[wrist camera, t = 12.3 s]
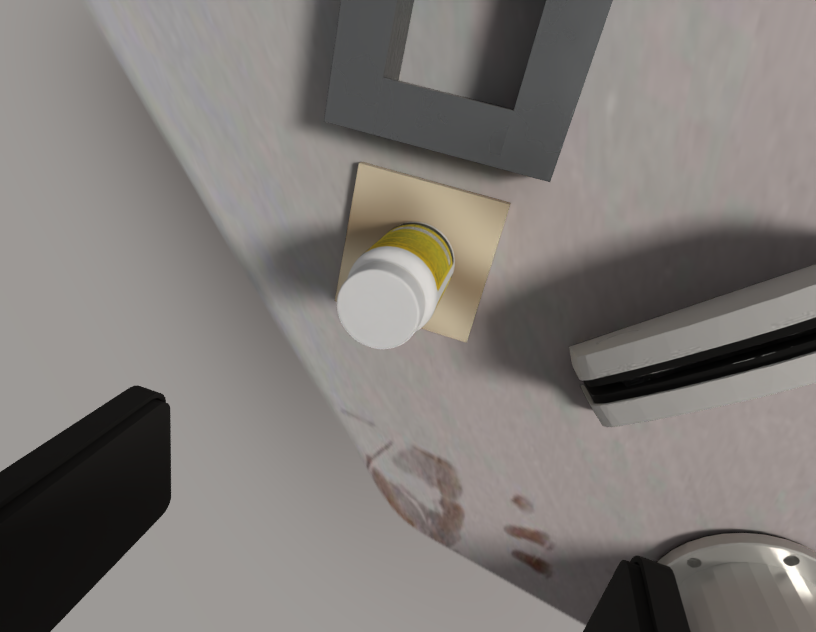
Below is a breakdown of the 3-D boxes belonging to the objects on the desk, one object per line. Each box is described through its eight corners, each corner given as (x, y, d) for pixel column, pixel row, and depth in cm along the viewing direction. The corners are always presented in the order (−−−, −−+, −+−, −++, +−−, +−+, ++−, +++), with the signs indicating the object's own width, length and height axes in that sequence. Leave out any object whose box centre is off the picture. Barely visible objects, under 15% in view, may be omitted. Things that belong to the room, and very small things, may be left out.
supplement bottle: (382, 214, 29) (330, 251, 22) (461, 226, 29) (434, 269, 21) (377, 289, 31) (326, 346, 24) (450, 302, 31) (421, 366, 23)
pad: (467, 338, 32) (466, 342, 31) (338, 298, 33) (334, 301, 32) (510, 202, 28) (510, 204, 28) (362, 161, 29) (358, 162, 29)
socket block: (548, 174, 27) (550, 182, 24) (344, 119, 28) (324, 121, 26) (641, -97, 22) (655, -125, 19) (385, -147, 23) (366, -180, 21)
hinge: (594, 413, 32) (588, 468, 23) (566, 344, 32) (550, 370, 23) (916, 324, 26) (1090, 349, 16) (877, 239, 26) (1027, 217, 17)
